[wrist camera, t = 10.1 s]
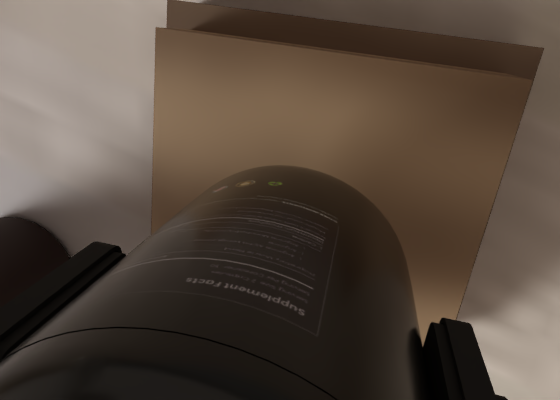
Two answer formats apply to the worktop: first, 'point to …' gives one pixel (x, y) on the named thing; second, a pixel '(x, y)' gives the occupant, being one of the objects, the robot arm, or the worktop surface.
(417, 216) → the stepped wooden plinth
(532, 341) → the worktop surface
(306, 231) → the supplement bottle
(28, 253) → the vinegar
